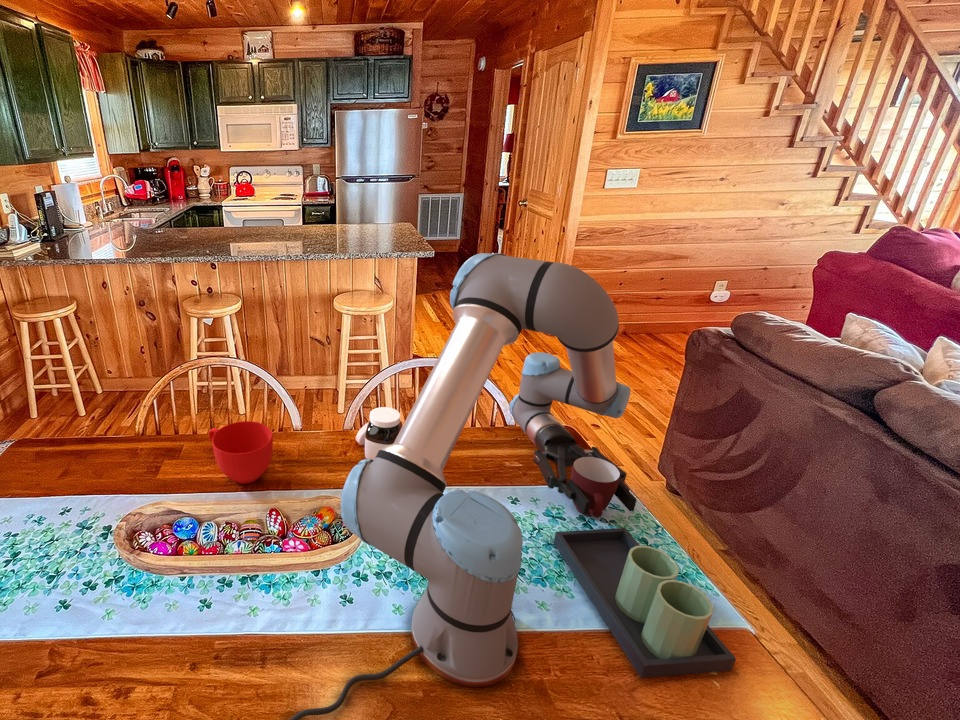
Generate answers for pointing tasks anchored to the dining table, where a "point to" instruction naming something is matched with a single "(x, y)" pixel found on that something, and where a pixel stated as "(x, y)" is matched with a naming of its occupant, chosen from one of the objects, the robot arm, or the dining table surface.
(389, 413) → the spread jar
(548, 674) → the dining table surface
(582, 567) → the tray
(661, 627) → the cup
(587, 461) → the mug
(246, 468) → the ceramic cup
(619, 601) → the cup
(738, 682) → the dining table surface
